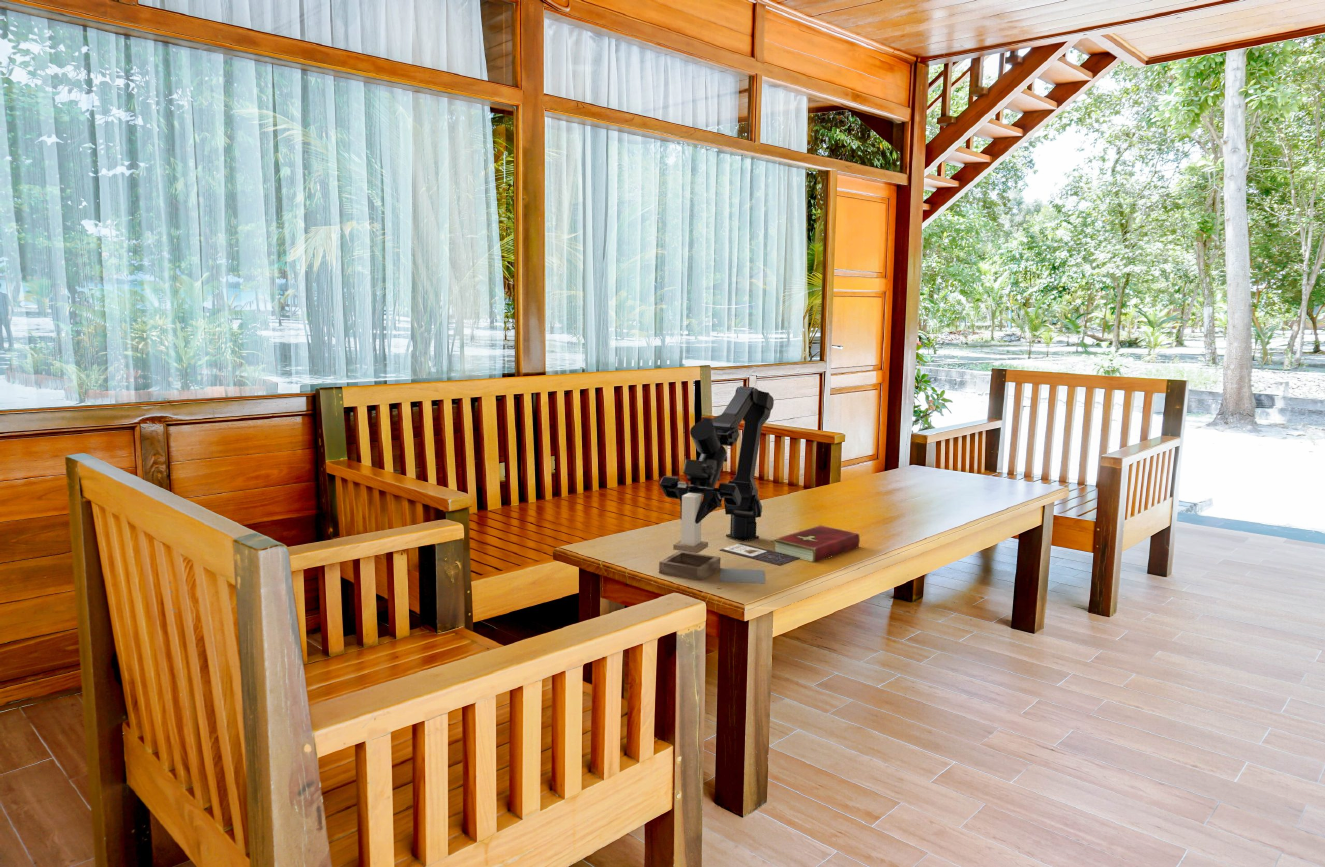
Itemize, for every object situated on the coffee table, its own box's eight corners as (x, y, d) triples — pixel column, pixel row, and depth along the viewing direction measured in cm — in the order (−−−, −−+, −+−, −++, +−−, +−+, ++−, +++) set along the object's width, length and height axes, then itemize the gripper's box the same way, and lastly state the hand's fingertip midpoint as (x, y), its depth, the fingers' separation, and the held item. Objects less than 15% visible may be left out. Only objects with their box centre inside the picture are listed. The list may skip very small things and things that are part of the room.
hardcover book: (859, 548, 227) (860, 532, 226) (813, 565, 212) (814, 547, 211) (819, 539, 235) (820, 523, 234) (773, 554, 220) (773, 538, 219)
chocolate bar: (779, 565, 208) (719, 549, 220) (779, 569, 208) (719, 553, 220) (800, 557, 215) (741, 542, 227) (800, 561, 215) (740, 546, 227)
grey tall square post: (684, 543, 206) (685, 490, 205) (707, 546, 204) (709, 493, 202) (673, 549, 201) (674, 495, 199) (697, 553, 199) (698, 499, 197)
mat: (720, 569, 205) (720, 567, 205) (764, 571, 205) (764, 569, 205) (719, 582, 196) (719, 581, 196) (765, 584, 195) (765, 583, 195)
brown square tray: (678, 562, 210) (679, 550, 210) (720, 568, 206) (720, 557, 205) (659, 573, 201) (659, 561, 200) (701, 581, 196) (702, 569, 196)
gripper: (663, 441, 207) (641, 497, 198) (738, 449, 198) (718, 507, 190) (677, 469, 215) (656, 523, 207) (749, 477, 207) (730, 534, 199)
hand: (689, 521), depth 200 cm, fingers closed on grey tall square post, 3 cm apart
